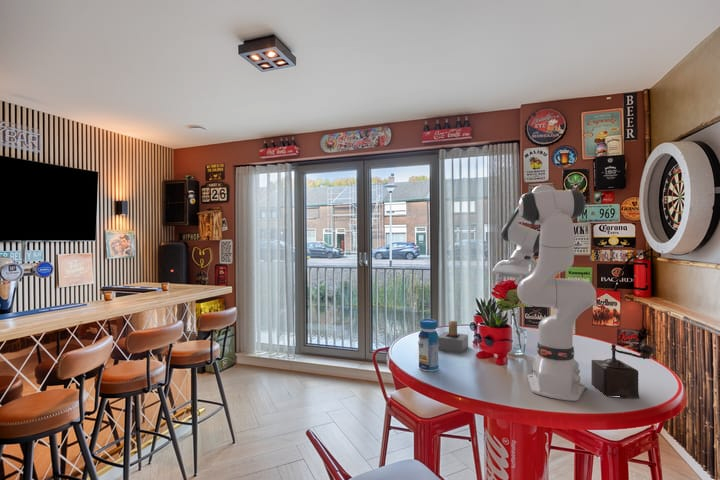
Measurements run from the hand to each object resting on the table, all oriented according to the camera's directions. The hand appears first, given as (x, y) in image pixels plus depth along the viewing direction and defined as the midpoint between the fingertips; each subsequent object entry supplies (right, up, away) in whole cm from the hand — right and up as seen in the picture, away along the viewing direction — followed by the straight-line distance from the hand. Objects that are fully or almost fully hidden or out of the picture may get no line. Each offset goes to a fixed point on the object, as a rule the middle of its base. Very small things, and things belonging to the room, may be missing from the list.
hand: (507, 282), depth 165 cm
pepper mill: (+23, -33, -42) cm, 58 cm away
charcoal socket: (-23, -33, +9) cm, 42 cm away
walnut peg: (-23, -32, +9) cm, 41 cm away
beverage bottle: (-40, -34, -19) cm, 56 cm away
